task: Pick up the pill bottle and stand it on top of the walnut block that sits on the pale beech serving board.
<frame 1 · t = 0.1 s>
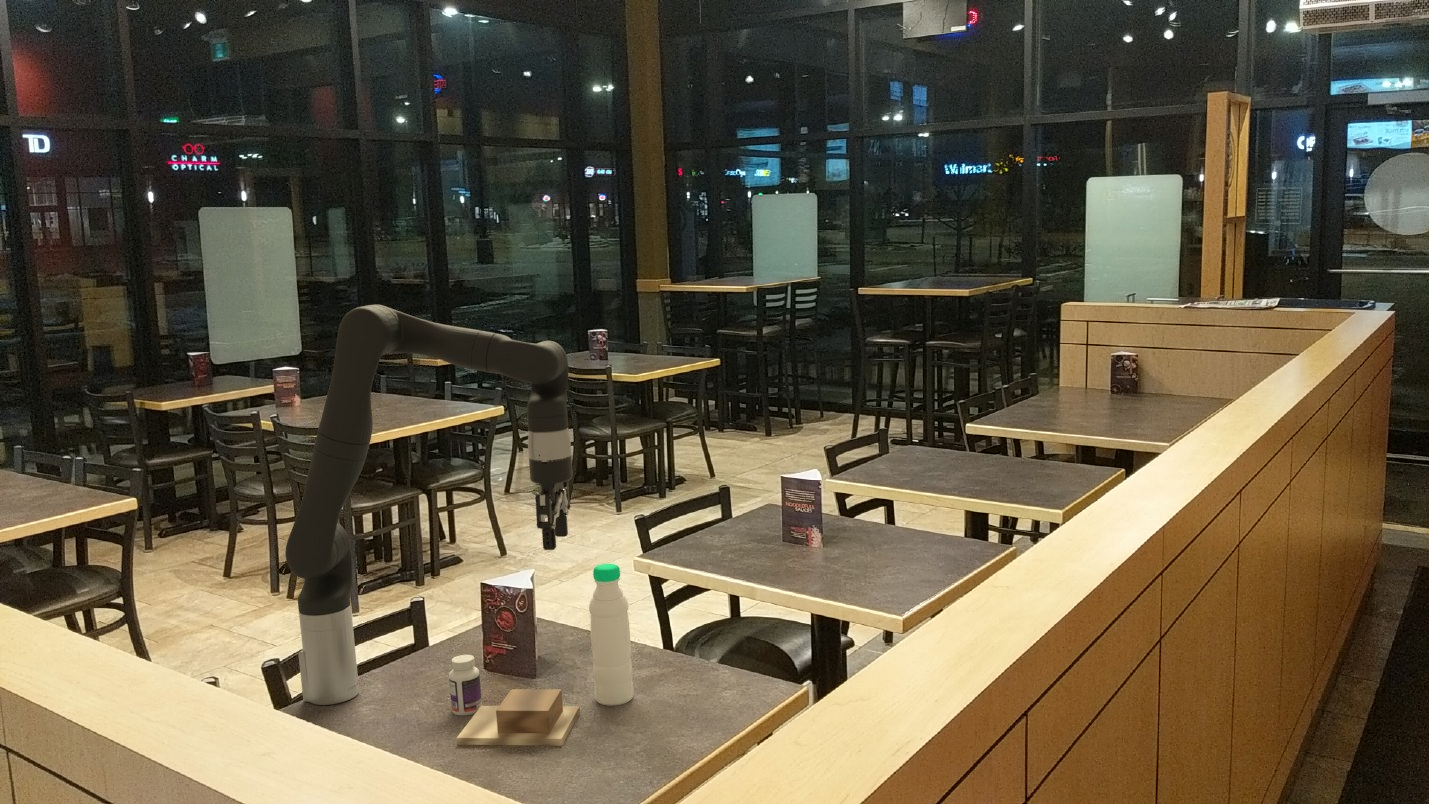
hand: (555, 542, 207), 29 cm above the table, fingers open, 8 cm apart
water bottle: (614, 700, 209), on the table
pill bottle: (467, 711, 208), on the table
walnut block: (531, 728, 199), resting on beech board
beech board: (520, 728, 199), on the table
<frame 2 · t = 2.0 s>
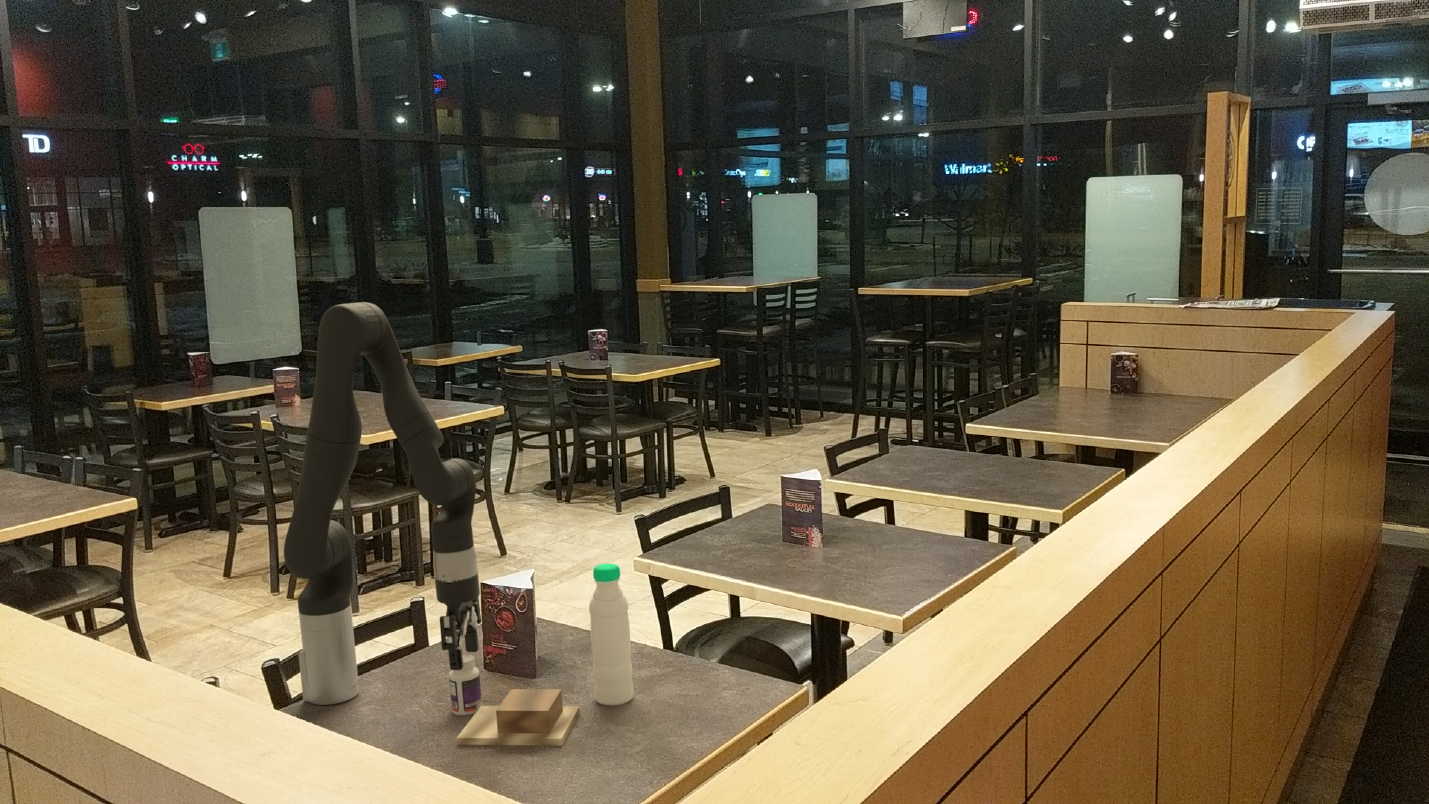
hand: (464, 660, 206), 9 cm above the table, fingers open, 8 cm apart
nothing on the table moved.
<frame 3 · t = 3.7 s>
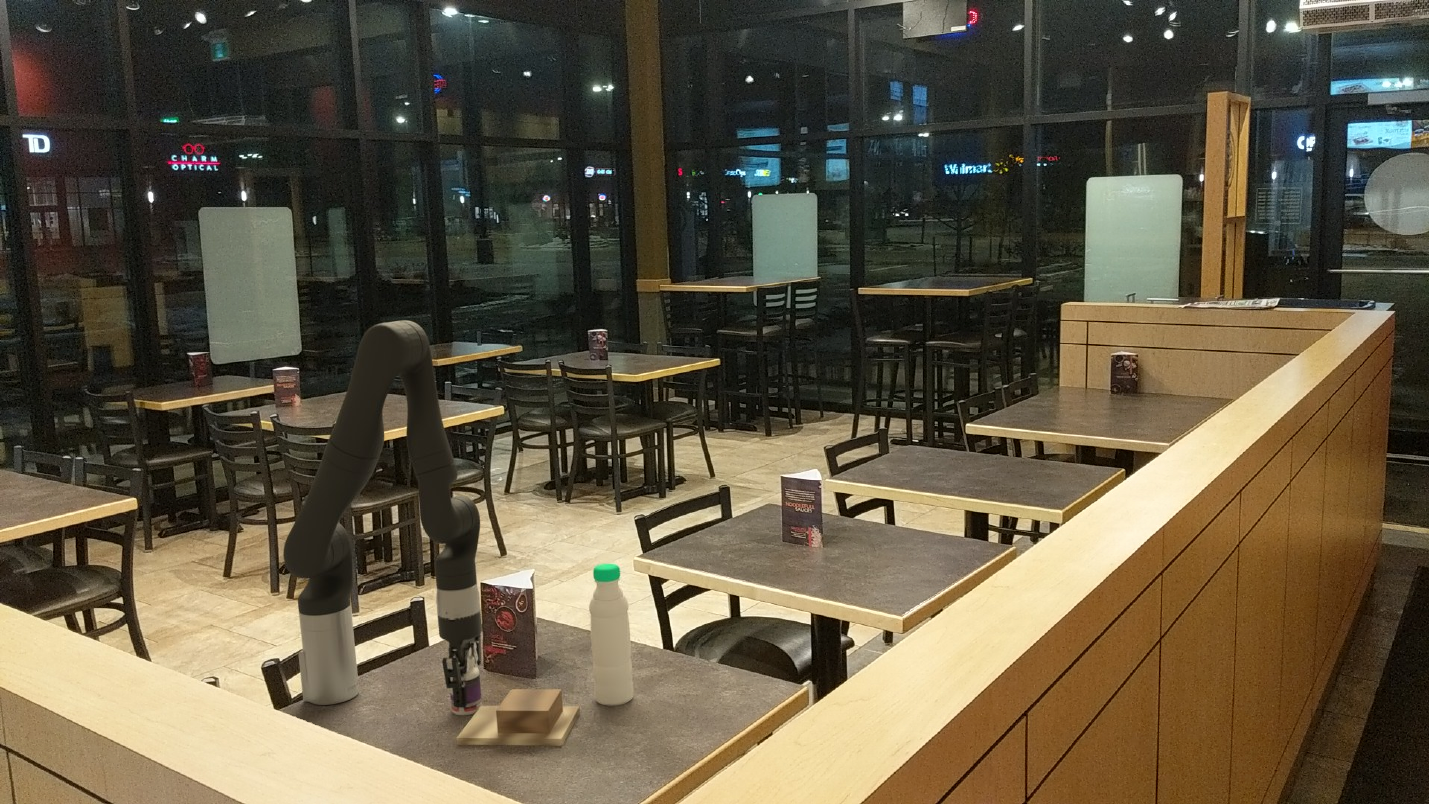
hand: (466, 699, 207), 2 cm above the table, fingers closed on pill bottle, 5 cm apart
pill bottle: (467, 710, 208), on the table, touching gripper
everything else where it was.
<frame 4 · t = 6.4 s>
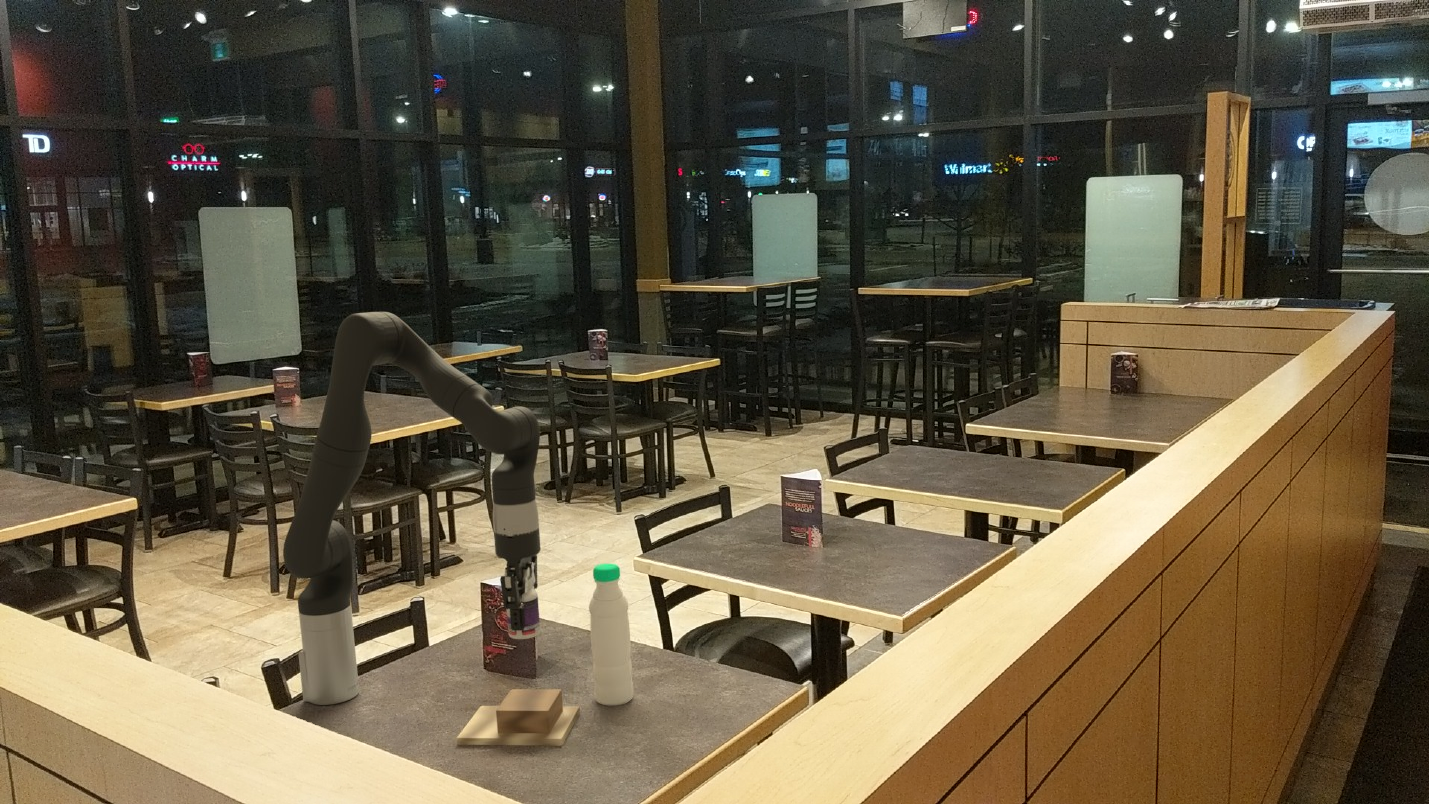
hand: (523, 623, 196), 19 cm above the table, fingers closed on pill bottle, 5 cm apart
pill bottle: (524, 635, 196), point 17 cm above the table, touching gripper
everything else where it was.
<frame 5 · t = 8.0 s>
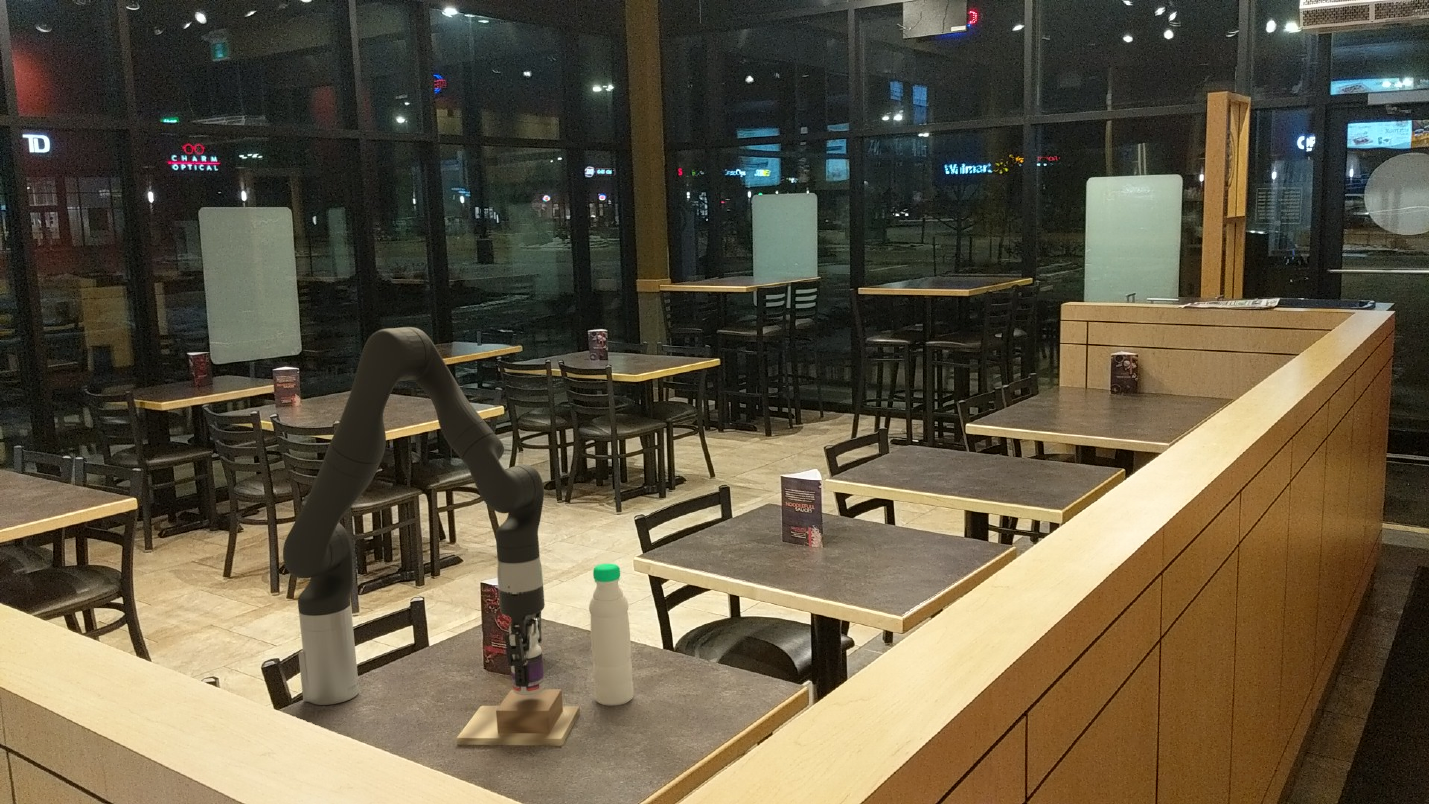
hand: (527, 678, 197), 9 cm above the table, fingers closed on pill bottle, 5 cm apart
pill bottle: (528, 690, 198), point 7 cm above the table, touching gripper
everything else where it was.
when the fingers open (8 cm above the table, at t = 9.2 s): pill bottle stays where it is, resting on walnut block.
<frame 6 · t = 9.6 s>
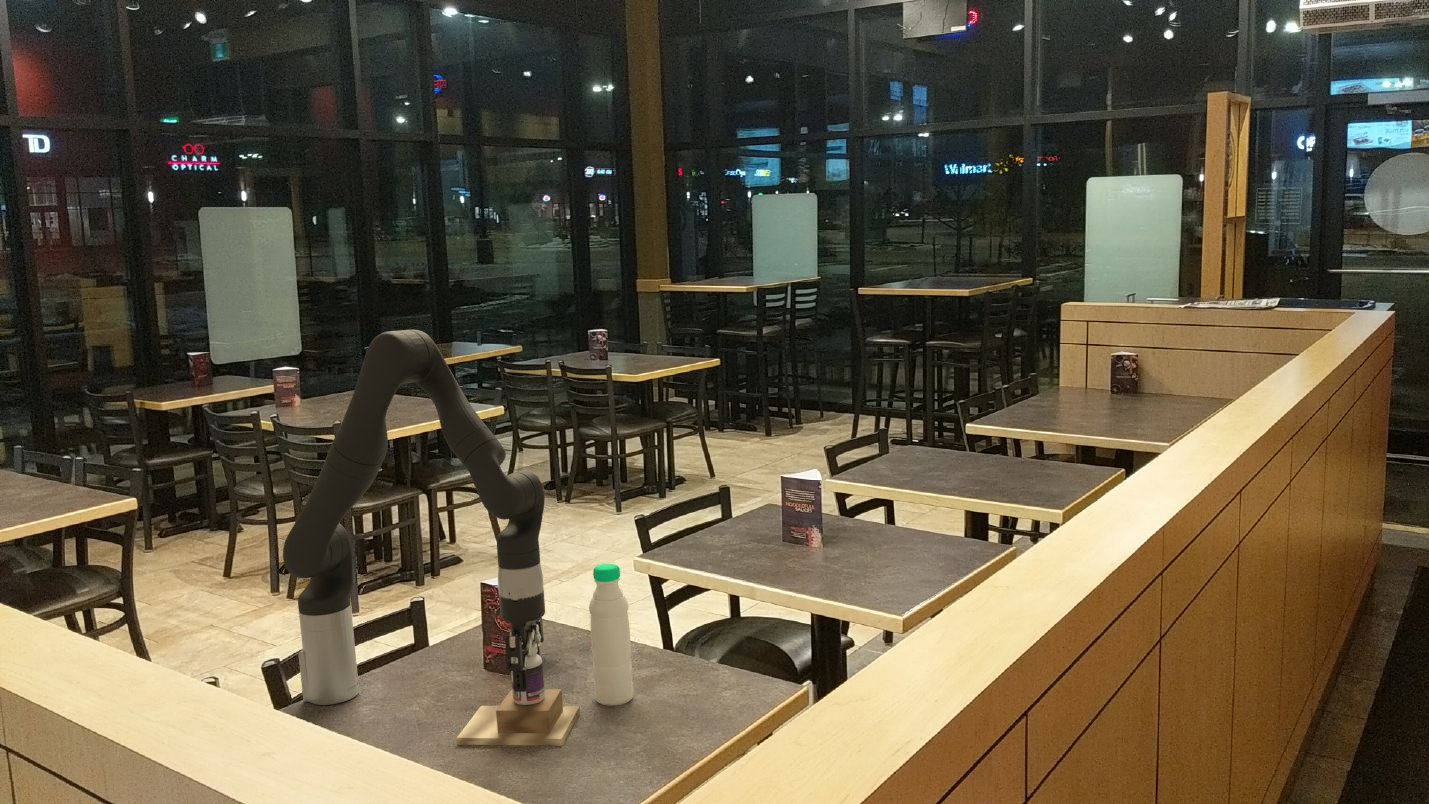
hand: (527, 680, 197), 9 cm above the table, fingers open, 8 cm apart
pill bottle: (529, 700, 198), point 5 cm above the table, touching walnut block
everything else where it was.
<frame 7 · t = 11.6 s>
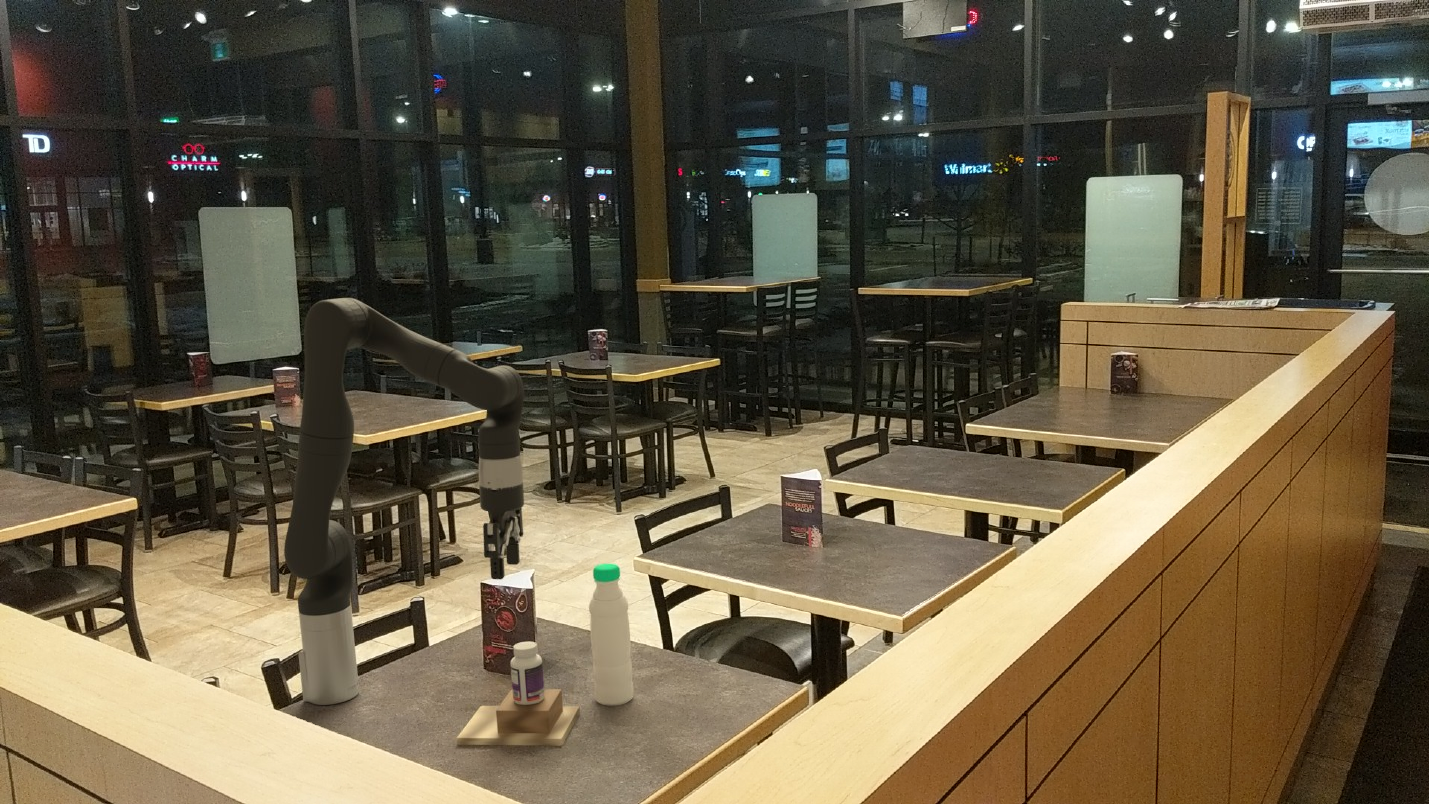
hand: (505, 571, 203), 26 cm above the table, fingers open, 8 cm apart
nothing on the table moved.
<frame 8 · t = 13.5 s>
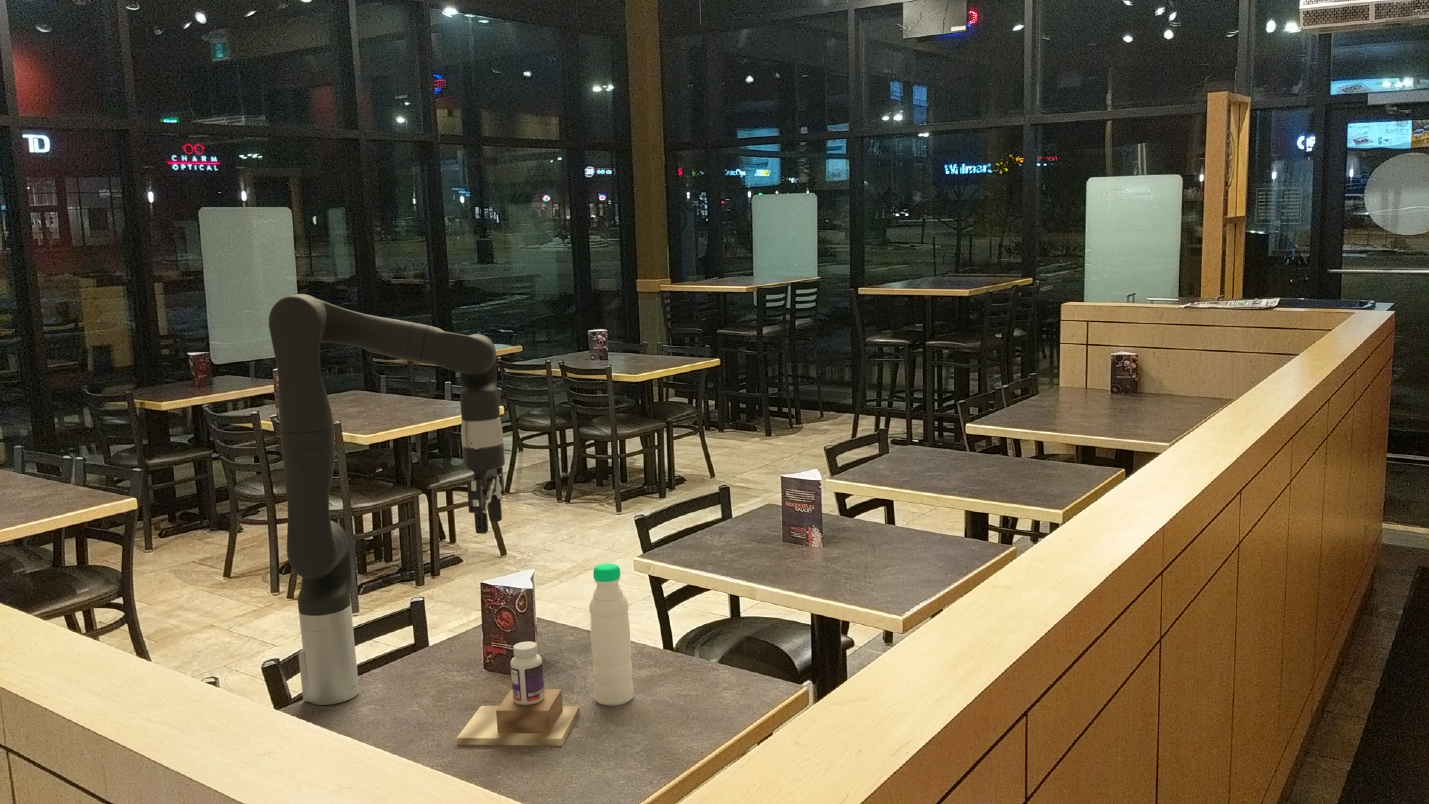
hand: (489, 527, 217), 30 cm above the table, fingers open, 8 cm apart
nothing on the table moved.
at the end: pill bottle 0.1 cm off-centre on the walnut block, point 5.0 cm above the walnut block's base; pill bottle tilted 0°; the gripper is holding nothing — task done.
